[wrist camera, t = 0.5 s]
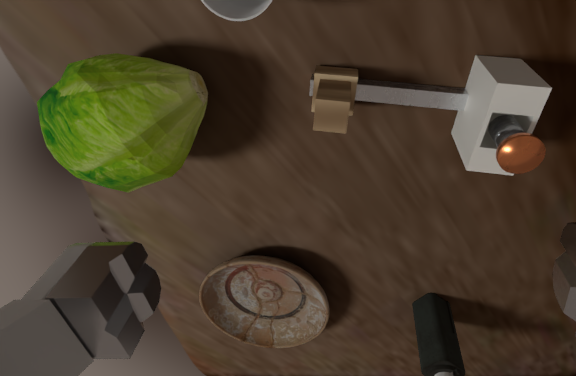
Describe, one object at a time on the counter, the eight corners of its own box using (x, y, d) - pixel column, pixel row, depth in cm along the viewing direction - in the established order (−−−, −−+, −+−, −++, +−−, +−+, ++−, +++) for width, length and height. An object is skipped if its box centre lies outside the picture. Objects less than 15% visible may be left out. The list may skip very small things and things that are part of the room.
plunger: (489, 107, 41) (506, 134, 36) (529, 111, 41) (553, 139, 36) (477, 141, 44) (491, 171, 39) (515, 145, 43) (535, 176, 38)
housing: (475, 55, 46) (497, 83, 39) (521, 58, 46) (552, 88, 38) (451, 133, 52) (466, 170, 44) (491, 137, 51) (513, 175, 44)
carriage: (316, 64, 49) (309, 92, 41) (358, 68, 48) (358, 97, 41) (313, 101, 52) (306, 134, 44) (352, 105, 51) (351, 139, 44)
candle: (409, 304, 71) (429, 463, 51) (431, 290, 68) (462, 452, 48) (430, 317, 72) (458, 478, 52) (452, 304, 70) (491, 468, 49)
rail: (312, 74, 50) (310, 79, 48) (465, 88, 48) (468, 94, 47) (310, 89, 51) (309, 95, 50) (460, 104, 49) (463, 110, 48)
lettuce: (241, 118, 57) (228, 184, 46) (122, 158, 62) (83, 228, 50) (181, 2, 48) (145, 48, 36) (46, 60, 52) (-25, 118, 41)
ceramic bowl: (197, 306, 80) (188, 327, 76) (220, 223, 67) (211, 243, 63) (306, 340, 82) (303, 363, 78) (351, 266, 68) (350, 289, 64)
